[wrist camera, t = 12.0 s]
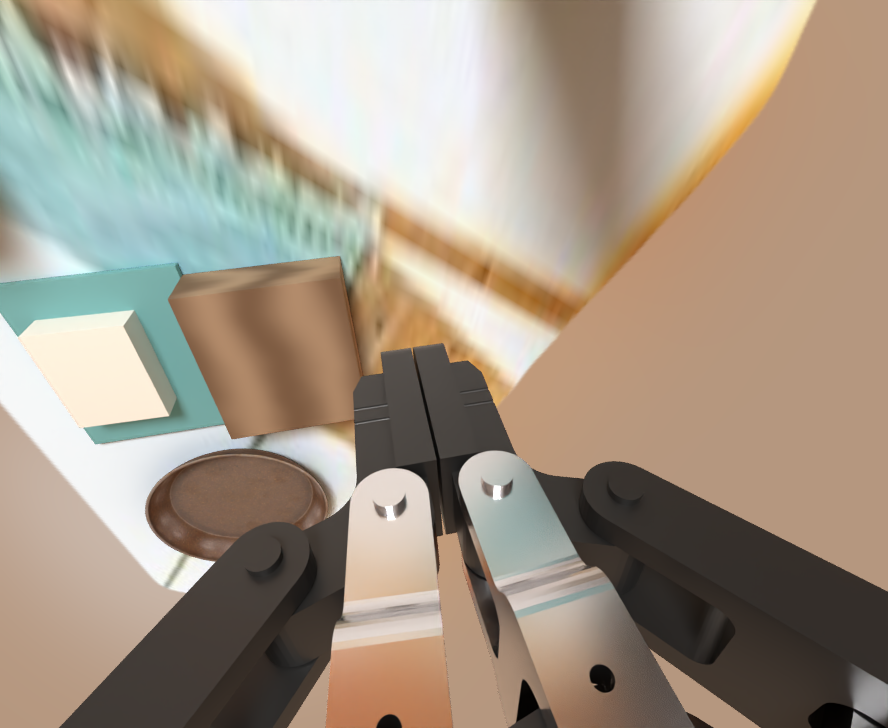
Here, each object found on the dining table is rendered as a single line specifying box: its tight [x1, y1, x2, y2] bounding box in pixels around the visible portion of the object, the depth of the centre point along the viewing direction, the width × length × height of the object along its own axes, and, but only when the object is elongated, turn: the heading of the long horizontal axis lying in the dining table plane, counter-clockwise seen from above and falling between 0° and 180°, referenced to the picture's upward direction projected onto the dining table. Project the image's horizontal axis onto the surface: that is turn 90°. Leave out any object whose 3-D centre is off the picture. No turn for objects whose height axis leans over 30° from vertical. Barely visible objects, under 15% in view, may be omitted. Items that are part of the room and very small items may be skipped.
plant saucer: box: [145, 449, 328, 562], centre depth 50 cm, size 18×18×3 cm
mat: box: [0, 263, 225, 444], centre depth 39 cm, size 13×16×1 cm
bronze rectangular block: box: [168, 256, 363, 439], centre depth 39 cm, size 12×14×4 cm
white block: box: [18, 310, 177, 428], centre depth 37 cm, size 7×9×2 cm
